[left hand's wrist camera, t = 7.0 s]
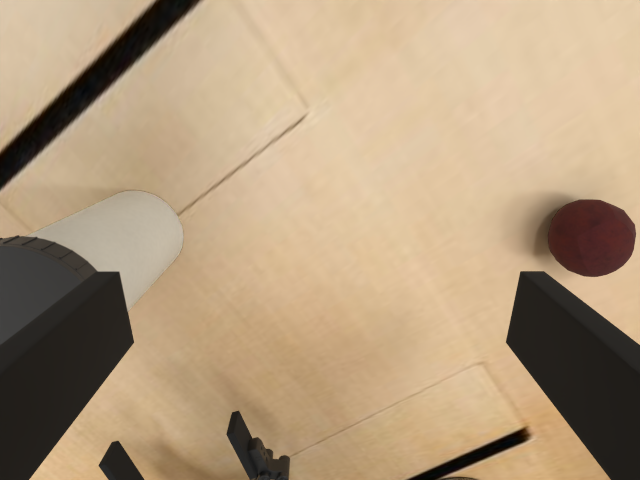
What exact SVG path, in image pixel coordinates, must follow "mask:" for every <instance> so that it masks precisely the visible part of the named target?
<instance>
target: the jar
mask: <svg viewBox="0 0 640 480" xmlns="http://www.w3.org/2000/svg"><path fill="white" fill-rule="evenodd" d="M25 237H37V238H41V239H46V240H49V241H52V242H56V243H58V244H60V245H62V246H65V247H67V248H69V249H70V250H73V251H74V252H76V253H77V254H78V255H80V256H81V257H83V258H84V259H85V260H86V261H88V262H89V263H90V264H91V265H92V266H93V267H94V268H95V269H96V270H97V271H119V272H120V277H121V281H122V286H123V291H124V296H125V301H126V306H127V311H129V310H130V309H131V308H132V307H133V305H134V304H135V303H136V302H137V301H138V300H139V299H140V298H141V297H142V296H143V294H144V293H145V292H146V291H147V290H148V289H149V288H150V287H151V286H152V284H153V283H154V282H155V281H156V280H157V279H158V278H159V277H160V276H161V275H162V273H163V272H164V271H165V270H166V269H167V268H168V267H169V266H170V265H171V263H172V262H173V261H174V260H175V259H176V258H177V257H178V255H179V253H180V251H181V249H182V246H183V239H184V236H183V228H182V225H181V222H180V220H179V218H178V216H177V214H176V213H175V211H174V210H173V209H172V208H171V207H170V206H169V205H168V204H167V203H166V202H165V201H163V200H162V199H160V198H159V197H157V196H155V195H153V194H150V193H147V192H143V191H137V190H130V191H123V192H120V193H117V194H115V195H113V196H111V197H109V198H107V199H104V200H102V201H100V202H98V203H96V204H94V205H91V206H89V207H87V208H85V209H83V210H81V211H79V212H76V213H74V214H72V215H70V216H68V217H66V218H64V219H61V220H59V221H57V222H55V223H53V224H51V225H48V226H46V227H44V228H42V229H40V230H38V231H36V232H33V233H31V234H29V235H27V236H25Z"/></svg>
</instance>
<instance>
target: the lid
mask: <svg viewBox="0 0 640 480" xmlns="http://www.w3.org/2000/svg"><path fill="white" fill-rule="evenodd" d="M96 271H97V270H96V269H95V268H94V267H93V266H92V265H91V264H90V263H89V262H88V261H86V260H85V259H84V258H83V257H81V256H80V255H78V254H77V253H76V252H74V251H73V250H70V249H69V248H67V247H65V246H62V245H60V244H58V243H56V242H52V241H49V240H46V239H41V238H37V237H25V236H21V237H19V235H17V236H15V237H9V238H4V239H3V238H0V345H1V344H2V343H4V342H5V341H6V340H8V339H9V338H10V337H11V336H13V335H14V334H15V333H17V332H18V331H19V330H21V329H22V328H23V327H24V326H26V325H27V324H28V323H30V322H31V321H32V320H34V319H35V318H36V317H37V316H39V315H40V314H41V313H43V312H44V311H45V310H47V309H48V308H49V307H50V306H52V305H53V304H54V303H56V302H57V301H58V300H60V299H61V298H62V297H63V296H65V295H66V294H67V293H69V292H70V291H71V290H73V289H74V288H75V287H76V286H78V285H79V284H80V283H82V282H83V281H84V280H86V279H87V278H88V277H89V276H91V275H92V274H93V273H95V272H96Z"/></svg>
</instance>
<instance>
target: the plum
mask: <svg viewBox="0 0 640 480" xmlns="http://www.w3.org/2000/svg"><path fill="white" fill-rule="evenodd" d="M635 237H636V230H635V224H634V223H633V222H632V220H631V219H630V218H629V216H628V215H627V214H626V213H625V211H624V210H622V209H620V208H618V207H616V206H614V205H611V204H609V203H606V202H604V201H601V200H577V201H575V202H572V203H569V204H567V205H565V206H564V207H563V208H561V209H560V210H559V211H558V212H557V213H556V215H555V216H554V218H553V219H552V222H551V226H550V229H549V233H548V242H549V249H550V251H551V253H552V254H553V256H554V257H555V259H556V260H557V261H558V262H559V263H560V264H561V265H562V266H563V267H565V268H566V269H567V270H569V271H571V272H574V273H577V274H579V275H582V276H588V277H598V276H603V275H607V274H609V273H612V272H614V271H616V270H617V269H619V268H620V267H622V266H623V265H624V264H625V263H626V262H627V261H628V260H629V258H630V257H631V255H632V252H633V250H634V244H635Z"/></svg>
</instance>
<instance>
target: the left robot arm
mask: <svg viewBox="0 0 640 480" xmlns="http://www.w3.org/2000/svg"><path fill="white" fill-rule="evenodd" d="M133 343H134V340H133V335H132V330H131V325H130V320H129V316H128V311H127V306H126V301H125V296H124V291H123V286H122V281H121V277H120V272H119V271H96V272H95V273H93V274H92V275H91V276H89V277H88V278H87V279H86V280H84V281H83V282H82V283H80V284H79V285H78V286H76V287H75V288H74V289H73V290H71V291H70V292H69V293H67V294H66V295H65V296H63V297H62V298H61V299H60V300H58V301H57V302H56V303H54V304H53V305H52V306H50V307H49V308H48V309H47V310H45V311H44V312H43V313H41V314H40V315H39V316H37V317H36V318H35V319H34V320H32V321H31V322H30V323H28V324H27V325H26V326H24V327H23V328H22V329H21V330H19V331H18V332H17V333H15V334H14V335H13V336H11V337H10V338H9V339H8V340H6V341H5V342H4V343H2V344H1V345H0V480H29V479H30V478H31V476H32V475H33V474H34V472H35V471H36V470H37V469H38V467H39V466H40V465H41V463H42V462H43V461H44V459H45V458H46V457H47V455H48V454H49V453H50V452H51V450H52V449H53V448H54V446H55V445H56V444H57V442H58V441H59V440H60V438H61V437H62V436H63V435H64V433H65V432H66V431H67V429H68V428H69V427H70V425H71V424H72V423H73V421H74V420H75V419H76V418H77V416H78V415H79V414H80V412H81V411H82V410H83V408H84V407H85V406H86V404H87V403H88V402H89V401H90V399H91V398H92V397H93V395H94V394H95V393H96V391H97V390H98V389H99V387H100V386H101V385H102V384H103V382H104V381H105V380H106V378H107V377H108V376H109V374H110V373H111V372H112V370H113V369H114V368H115V367H116V365H117V364H118V363H119V361H120V360H121V359H122V357H123V356H124V355H125V354H126V352H127V351H128V350H129V348H130V347H131V346H132V344H133ZM506 343H507V344H508V346H509V347H510V348H511V350H512V351H513V352H514V354H515V355H516V356H517V357H518V359H519V360H520V361H521V363H522V364H523V365H524V367H525V368H526V369H527V370H528V372H529V373H530V374H531V376H532V377H533V378H534V380H535V381H536V382H537V384H538V385H539V386H540V387H541V389H542V390H543V391H544V393H545V394H546V395H547V397H548V398H549V399H550V401H551V402H552V403H553V404H554V406H555V407H556V408H557V410H558V411H559V412H560V414H561V415H562V416H563V418H564V419H565V420H566V421H567V423H568V424H569V425H570V427H571V428H572V429H573V431H574V432H575V433H576V435H577V436H578V437H579V438H580V440H581V441H582V442H583V444H584V445H585V446H586V448H587V449H588V450H589V452H590V453H591V454H592V455H593V457H594V458H595V459H596V461H597V462H598V463H599V465H600V466H601V467H602V469H603V470H604V471H605V472H606V474H607V475H608V476H609V478H610V479H611V480H640V345H639V344H638V343H636V342H635V341H634V340H632V339H631V338H630V337H629V336H627V335H626V334H625V333H623V332H622V331H621V330H619V329H618V328H617V327H616V326H614V325H613V324H612V323H610V322H609V321H608V320H606V319H605V318H604V317H603V316H601V315H600V314H599V313H597V312H596V311H595V310H593V309H592V308H591V307H590V306H588V305H587V304H586V303H584V302H583V301H582V300H580V299H579V298H578V297H577V296H575V295H574V294H573V293H571V292H570V291H569V290H567V289H566V288H565V287H564V286H562V285H561V284H560V283H558V282H557V281H556V280H554V279H553V278H552V277H551V276H549V275H548V274H547V273H545V272H544V271H521V272H520V277H519V281H518V286H517V291H516V296H515V301H514V306H513V311H512V316H511V320H510V325H509V330H508V335H507V340H506Z"/></svg>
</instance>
